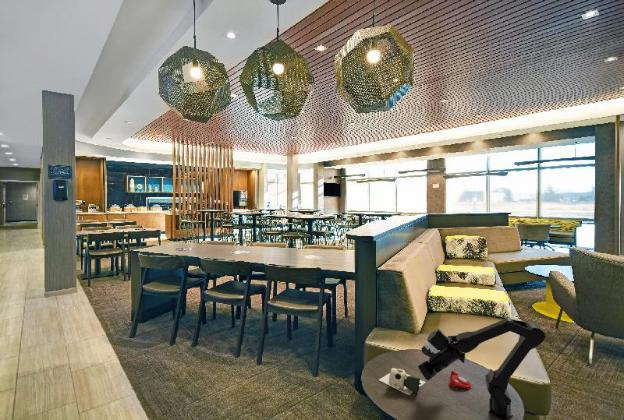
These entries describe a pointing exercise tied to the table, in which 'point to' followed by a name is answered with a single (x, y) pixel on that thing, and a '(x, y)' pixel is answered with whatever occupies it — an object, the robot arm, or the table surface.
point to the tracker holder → (458, 381)
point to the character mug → (403, 380)
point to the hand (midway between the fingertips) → (422, 373)
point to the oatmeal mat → (404, 390)
